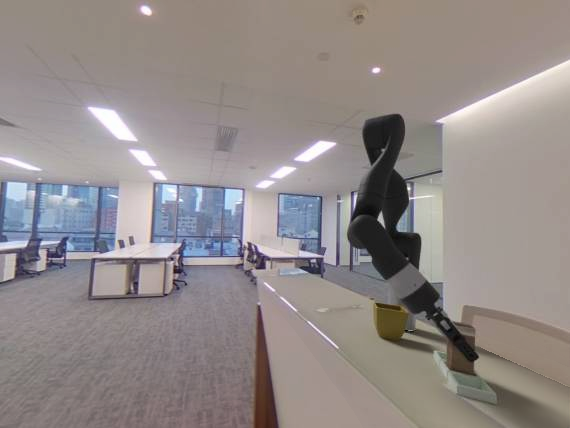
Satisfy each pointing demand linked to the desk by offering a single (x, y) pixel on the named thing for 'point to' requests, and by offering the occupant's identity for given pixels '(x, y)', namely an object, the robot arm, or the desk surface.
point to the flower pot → (390, 320)
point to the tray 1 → (439, 356)
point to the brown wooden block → (453, 355)
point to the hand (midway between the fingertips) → (470, 355)
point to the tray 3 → (472, 388)
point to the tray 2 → (446, 370)
